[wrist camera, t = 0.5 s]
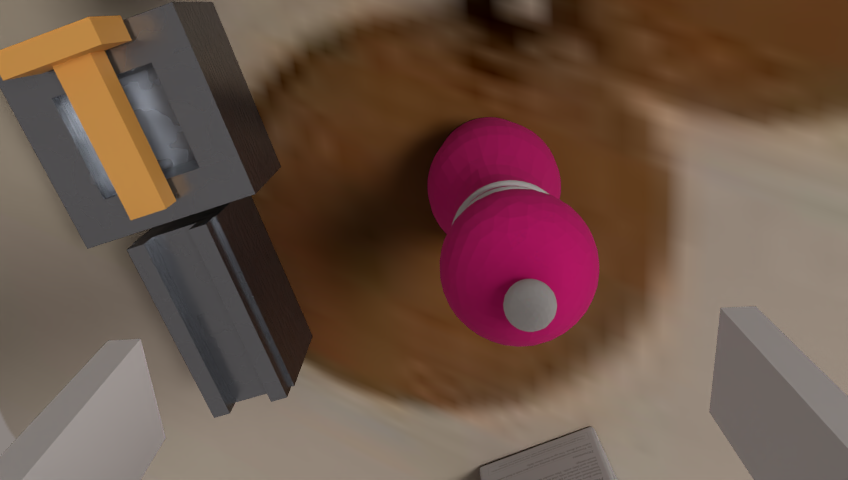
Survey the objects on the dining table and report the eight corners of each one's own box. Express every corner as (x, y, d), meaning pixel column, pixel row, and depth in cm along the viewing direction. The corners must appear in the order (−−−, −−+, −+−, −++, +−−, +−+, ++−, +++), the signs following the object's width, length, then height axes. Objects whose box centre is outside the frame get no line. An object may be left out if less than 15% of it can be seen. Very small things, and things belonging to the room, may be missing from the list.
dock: (56, 59, 38) (-25, 71, 31) (212, 2, 37) (162, 2, 30) (211, 365, 45) (172, 429, 38) (347, 326, 44) (331, 384, 37)
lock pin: (28, 49, 32) (-11, 54, 29) (120, 15, 31) (88, 16, 28) (117, 220, 34) (88, 240, 32) (202, 192, 34) (181, 209, 31)
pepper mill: (452, 91, 38) (468, 177, 19) (565, 132, 39) (687, 254, 20) (412, 202, 40) (391, 375, 22) (519, 239, 41) (589, 437, 22)
